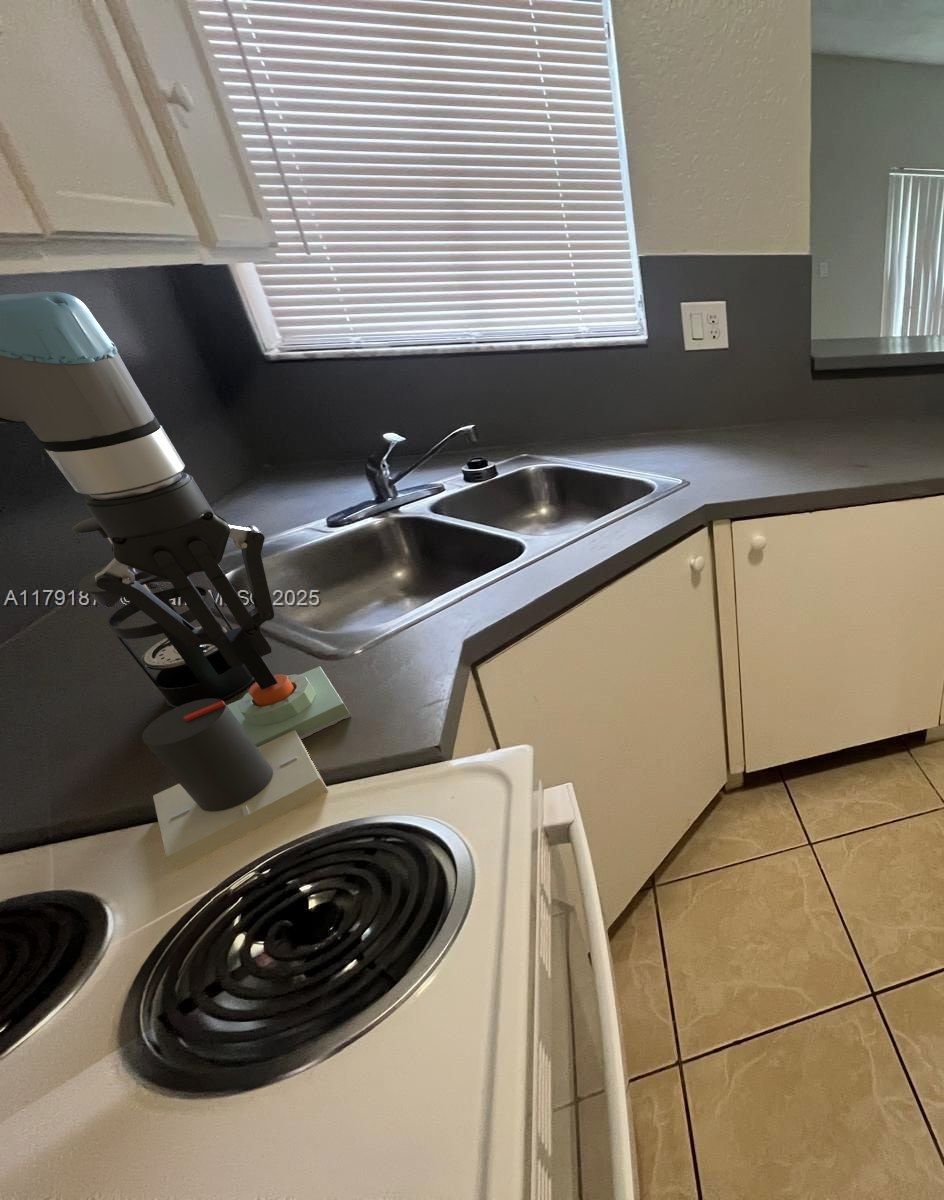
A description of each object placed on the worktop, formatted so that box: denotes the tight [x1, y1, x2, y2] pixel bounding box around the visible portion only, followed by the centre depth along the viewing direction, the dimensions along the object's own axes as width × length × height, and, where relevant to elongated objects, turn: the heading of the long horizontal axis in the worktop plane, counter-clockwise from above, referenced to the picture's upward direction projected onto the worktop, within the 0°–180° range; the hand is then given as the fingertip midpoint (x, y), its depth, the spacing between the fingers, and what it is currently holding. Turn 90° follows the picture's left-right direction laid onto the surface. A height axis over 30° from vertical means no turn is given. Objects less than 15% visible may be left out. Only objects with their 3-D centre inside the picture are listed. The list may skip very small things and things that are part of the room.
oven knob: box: [141, 698, 273, 811], centre depth 60 cm, size 6×6×9 cm
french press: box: [71, 516, 256, 710], centre depth 72 cm, size 12×9×23 cm
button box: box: [226, 665, 351, 747], centre depth 72 cm, size 10×10×4 cm
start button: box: [248, 673, 295, 707], centre depth 71 cm, size 4×4×2 cm
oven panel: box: [152, 730, 329, 871], centre depth 63 cm, size 10×12×2 cm
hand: (267, 680), depth 70 cm, fingers closed
